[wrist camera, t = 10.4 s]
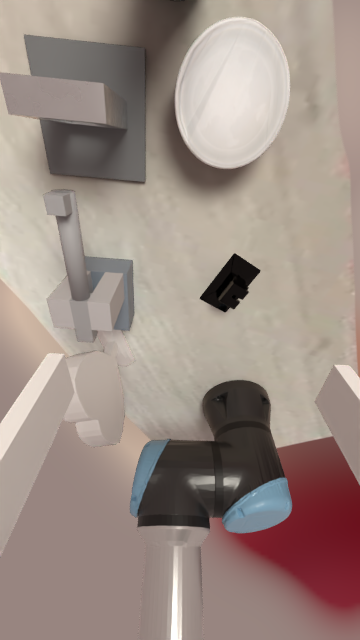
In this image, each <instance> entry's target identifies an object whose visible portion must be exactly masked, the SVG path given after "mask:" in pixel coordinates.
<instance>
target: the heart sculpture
mask: <svg viewBox="0 0 360 640" xmlns="http://www.w3.org/2000/svg"><path fill="white" fill-rule="evenodd" d="M97 337H98V338H99V340H100V342H101V344H102V346H103V347H104V352H99V351H93V352H87V353H82V354H76V355H73V356H70V357H67V358H65V359H66V362H67V366H68V370H69V373H70V377H71V381H72V385H73V388H74V392H75V393H74V395H73V398H72V400H71V402H70V404H69V406H68V409H67V411H66V413H65V415H64V417H63V419H64V421H66V422H69V423H75V425H76V429H77V433H78V436H79V438H80V439H81V440H82V441H83V442H84V443H85V444H87V445H89V446H92V447H101V446H109V445H116V444H117V443H119V442H120V438H121V435H122V432H123V424H124V417H125V413H124V395H123V389H122V383H121V378H120V374H119V369H118V366H129V365H131V364H133V363H134V362H135V361H136V360H135V358H134V356H133V354H132V351H131V349H130V347H129V345H128V343H127V341H126V339H125V337H124V335H123V332H122V330H113V331H100V330H98V334H97Z"/></svg>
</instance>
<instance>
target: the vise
mask: <svg viewBox="0 0 360 640" xmlns="http://www.w3.org/2000/svg"><path fill="white" fill-rule="evenodd" d="M43 196H44V201H45V206H46V211H47V215H56V219H57V225H58V230H59V235H60V240H61V245H62V250H63V255H64V260H65V265H66V270H67V276H66V277H65V279H64V280H63V281H62V282H61V283H60V284H59V285H58V287H57V288H56V289H55V290H54V291H53V292H52V293H51V294H50V296H49V297H48V298H47V303H48V306H49V310H50V314H51V318H52V321H53V325H54V328H70V329H75V331H76V336H77V341H78V342H94V340H95V338H96V336H97V334H98V330H100V331H113V330H128V331H130V327H131V324H132V320H133V317H134V287H133V260H123V259H110V258H97V257H84V250H83V243H82V236H81V229H80V223H79V216H78V209H77V202H76V195H75V191H73V190H65V189H57V190H51V192H48V193H46V194H43Z"/></svg>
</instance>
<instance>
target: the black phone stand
mask: <svg viewBox="0 0 360 640" xmlns="http://www.w3.org/2000/svg"><path fill="white" fill-rule="evenodd" d="M259 273H260V270H259V269H258V268H256V267H255V266H253V265H252V264H250V263H249V262H247V261H246V260H244V259H243V258H241V257H240V256H238V255H237V254H233V256H232V257H231V258H230V259H229V261H228V262H227V263H226V265H225V266H224V267H223V268H222V270H221V271H220V272H219V274H218V275H217V276H216V278H215V279H214V280H213V281H212V283H211V284H210V285H209V287H208V288H207V289H206V290H205V292H204V293H203V294H202V296H201V297H200V299H201V300H203V301H205V302H207V303H208V304H210V305H212V306H214V307H216V308H218V309H220V310H222V311H223V312H226V311H227V310H228V309H229V308H232V309H235V308H236V306H237V305H238V304H239V303H240V301H239V300H237V299H238V298H240V299H242V300H243V299H244V297H245V296H246V295H247V294H248V293H249V292H248V290H247V289H248V286H249V284H250V283H251V282H252V281H253V280H254V279H255V277H256V276H257V275H258V274H259Z"/></svg>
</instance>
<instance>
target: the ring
mask: <svg viewBox="0 0 360 640" xmlns="http://www.w3.org/2000/svg"><path fill="white" fill-rule="evenodd" d="M0 80H1V85H2V89H3V93H4V97H5V101H6V105H7V109H8V113H9V114H11V115H16V116H22V117H28V118H33V119H39V120H45V121H50V122H56V123H65V124H75V125H85V126H96V127H106V128H116V129H126V130H128V124H127V101H126V100H124V99H123V98H122V97H120V96H119V95H118V94H117V93H115V92H114V91H113V90H112V89H110V88H109V87H108V86H106V85H105V84H104V83H97V82H87V81H78V80H68V79H58V78H49V77H39V76H30V75H20V74H10V73H1V72H0Z"/></svg>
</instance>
